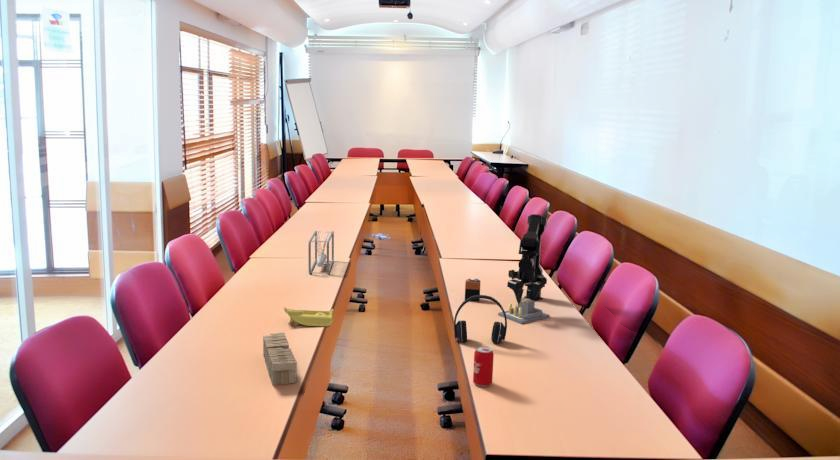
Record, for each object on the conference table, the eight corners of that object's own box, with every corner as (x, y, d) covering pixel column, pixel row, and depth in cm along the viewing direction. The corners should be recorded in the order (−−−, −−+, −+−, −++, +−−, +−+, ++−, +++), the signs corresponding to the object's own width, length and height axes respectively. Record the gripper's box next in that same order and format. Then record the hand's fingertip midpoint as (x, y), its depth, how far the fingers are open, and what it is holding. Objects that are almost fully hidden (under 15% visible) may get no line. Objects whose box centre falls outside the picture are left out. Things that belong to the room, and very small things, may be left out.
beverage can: (479, 378, 220) (480, 344, 218) (495, 383, 217) (497, 348, 214) (469, 384, 215) (470, 349, 213) (486, 389, 212) (487, 354, 209)
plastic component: (331, 311, 278) (333, 308, 268) (330, 329, 276) (332, 326, 266) (283, 309, 274) (283, 306, 264) (282, 327, 272) (282, 324, 263)
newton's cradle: (315, 261, 373) (315, 229, 370) (333, 261, 374) (333, 230, 370) (308, 274, 344) (308, 241, 340) (328, 275, 344) (328, 241, 341)
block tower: (262, 356, 236) (271, 388, 209) (262, 334, 235) (271, 362, 207) (285, 354, 239) (297, 385, 211) (284, 332, 237) (296, 359, 210)
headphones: (504, 339, 257) (507, 293, 254) (506, 345, 250) (509, 299, 247) (453, 337, 258) (454, 292, 254) (453, 343, 251) (455, 297, 248)
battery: (479, 301, 305) (480, 280, 303) (464, 300, 306) (465, 279, 304) (479, 299, 309) (480, 278, 307) (465, 298, 310) (465, 277, 308)
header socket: (525, 308, 296) (526, 296, 295) (549, 317, 286) (550, 304, 285) (498, 315, 286) (498, 302, 285) (521, 324, 275) (522, 311, 274)
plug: (523, 310, 290) (524, 297, 289) (533, 314, 285) (534, 300, 284) (517, 312, 288) (517, 298, 286) (527, 316, 283) (528, 302, 282)
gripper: (529, 259, 294) (527, 293, 297) (499, 264, 283) (497, 300, 286) (548, 265, 285) (546, 299, 288) (517, 270, 274) (515, 306, 277)
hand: (526, 301), depth 285 cm, fingers open, 9 cm apart
